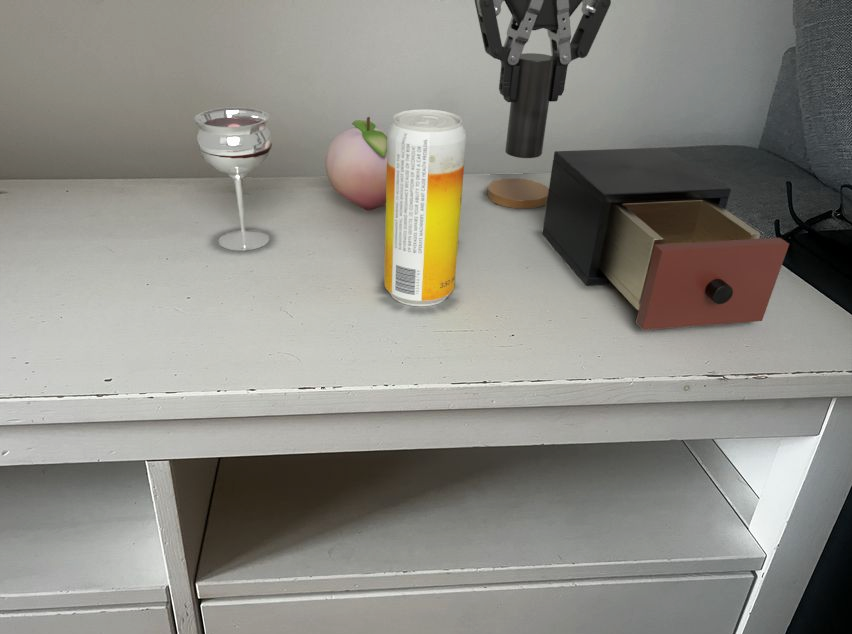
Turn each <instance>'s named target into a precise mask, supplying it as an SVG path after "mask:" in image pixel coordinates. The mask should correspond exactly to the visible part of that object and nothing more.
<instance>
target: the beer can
mask: <svg viewBox="0 0 852 634" xmlns="http://www.w3.org/2000/svg"><path fill="white" fill-rule="evenodd" d="M386 133H387V176H386V204H385V230H384V231H385V233H384V278H383V279H384V282H383V283H384V284H383V285H384V287H385V289H386V290H387V291H388V292H389V293H390V296H391V297H392V298H393V299H394V300H395V301H396V302H397V303H400V304H403V305H406V306H411V307H432V306H435V305H438V304H440V303H443V302H444V301H445V300H446V299H447V298H448V296H449V295H450V294H451V293H452V292H453V291H454V290H455V285H456V284H455V283H456V271H457V259H458V246H459V236H460V235H459V234H460V224H461V223H460V221H461V209H462V196H463V185H464V184H463V182H464V172H465V161H466V159H465V158H466V145H467V132H466V130H465V127H464V124H463V118H462V117H461V116H460V115H459V114H455V113H454V112H450V111H445V110H439V109H425V108H424V109H410V110H409V109H408V110H404V111H399V112H397V113H395V114H394V115H393V117H392V121H391V123H390V126H389V128H388V130H387V132H386Z"/></svg>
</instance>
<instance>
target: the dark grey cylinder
mask: <svg viewBox="0 0 852 634" xmlns="http://www.w3.org/2000/svg"><path fill="white" fill-rule="evenodd" d="M554 63H555V58H554V57H553V56H552V55H551V54H546V53H536V52H535V53H534V52H532V53H531V52H529V53H522V54H521V56H520V59H519V62H518V63H517V65H519V66H520V69H519V78H518V86H517V95H516V101H515V102H510V106H509V116H508V124H507V132H506V142H505V153H506V154H507V155H508V156H511V157H514V158H519V159H520V158H521V159H535V158H539V157H541V156H542V154H543V148H544V141H545V134H546V126H547V119H548V113H549V106H550V101H549V99H550V92H551V85H552V78H553V70H554Z"/></svg>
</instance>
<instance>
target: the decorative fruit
mask: <svg viewBox="0 0 852 634" xmlns="http://www.w3.org/2000/svg"><path fill="white" fill-rule="evenodd" d="M351 125H352V126H353V127H350V128H348V129H346V130H344V131H342V132H340V133H339V134H337V135H336V136H335V137H334V138H333V139H332V141H331V142H330V144H329V145H328V148H327V150H326V152H325V158H324V159H325V172H326V177H327V180H328V182H329V184H330V185H331V187H332V188H333V189H334V191H335V192H336V193H337V194H338V195H339V196H341V197H343V198H344V199H346V200H348V201H349V202H350V203H352V204H354V205H356V206H358V207H361V208H364V209H365V211H371V210H375V209H377V208H379V207H383V206H384V205H386V176H387V132H385V131H384V130H383V129H381V128H379V127H378V126H377V125H376V124H375V123H373V121H371V117H370V116H367V117H366V120H361V119H356V120H354V121H353V122H352V123H351ZM376 126H377V127H376Z"/></svg>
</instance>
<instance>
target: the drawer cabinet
mask: <svg viewBox="0 0 852 634" xmlns="http://www.w3.org/2000/svg"><path fill="white" fill-rule="evenodd" d="M548 189H549V192H548V198H547V204H545V205H546V206H545V213H544V220H543V227H542V235H543V236H544V237H545V239H546V240H547V241H548V242H549V243H550V244H551V245H552V247H553V248H554V250H556V251H557V253H558V254H559V255H560V256H561V257H562V258H563V260H564V261H565V262H566V263H567V265H568V266H569V267H570V268H571V269H572V270H573V271H574V272H575V274H576V275H577V277H578V278H579V279H581V281H582V282H583V283H584V284H585V286H587V287H589V286H591V287H592V286H605V285H614V284H613V283H612V282H611V281H610V280H609V279H608V278H607V277H606V276H605V275H604V274H603V273H602V271H601V270H600V269H599V268H598V267H599V262H600V257H601V252H602V247H603V242H604V237H605V232H606V227H607V222H608V217H609V212H610V207H611V203H619V202H640V201H662V200H683V199H705V198H709V199H711V200H712V201H714V202H715V203H716V204H718V205H719V206H721V207H722V208H724V209H725V210H727V209H726V208H727V206H728V202H729V198H730V195H731V191H732V189H731V187H729V186H727V185H725V184H724V183H723V182H721V181H720V180H718V179H716V178H714V177H713V176H712V175H710V174H708V173H707V172H705V171H703V170H702V169H701V168H699V167H698V166H696V165H694V164H692V163H691V162H689V161H688V160H686V159H685V158H683V157H682V156H680V155H678V154H677V153H675V152H673V151H672V150H670V149H669V148H667V147H640V148H639V147H638V148H637V147H636V148H617V149H616V148H613V149H612V148H611V149H585V150H584V149H582V150H580V149H579V150H556V151H554V153H553V159H552V165H551V172H550V179H549V186H548Z"/></svg>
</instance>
